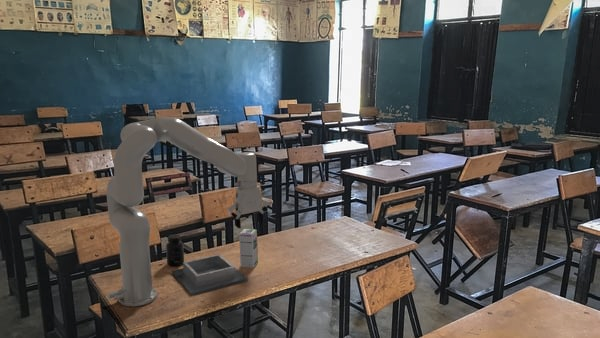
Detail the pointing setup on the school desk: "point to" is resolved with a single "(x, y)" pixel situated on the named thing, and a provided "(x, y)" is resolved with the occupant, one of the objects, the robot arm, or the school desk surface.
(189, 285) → the socket
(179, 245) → the supplement bottle
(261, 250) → the school desk surface
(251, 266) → the syrup box
